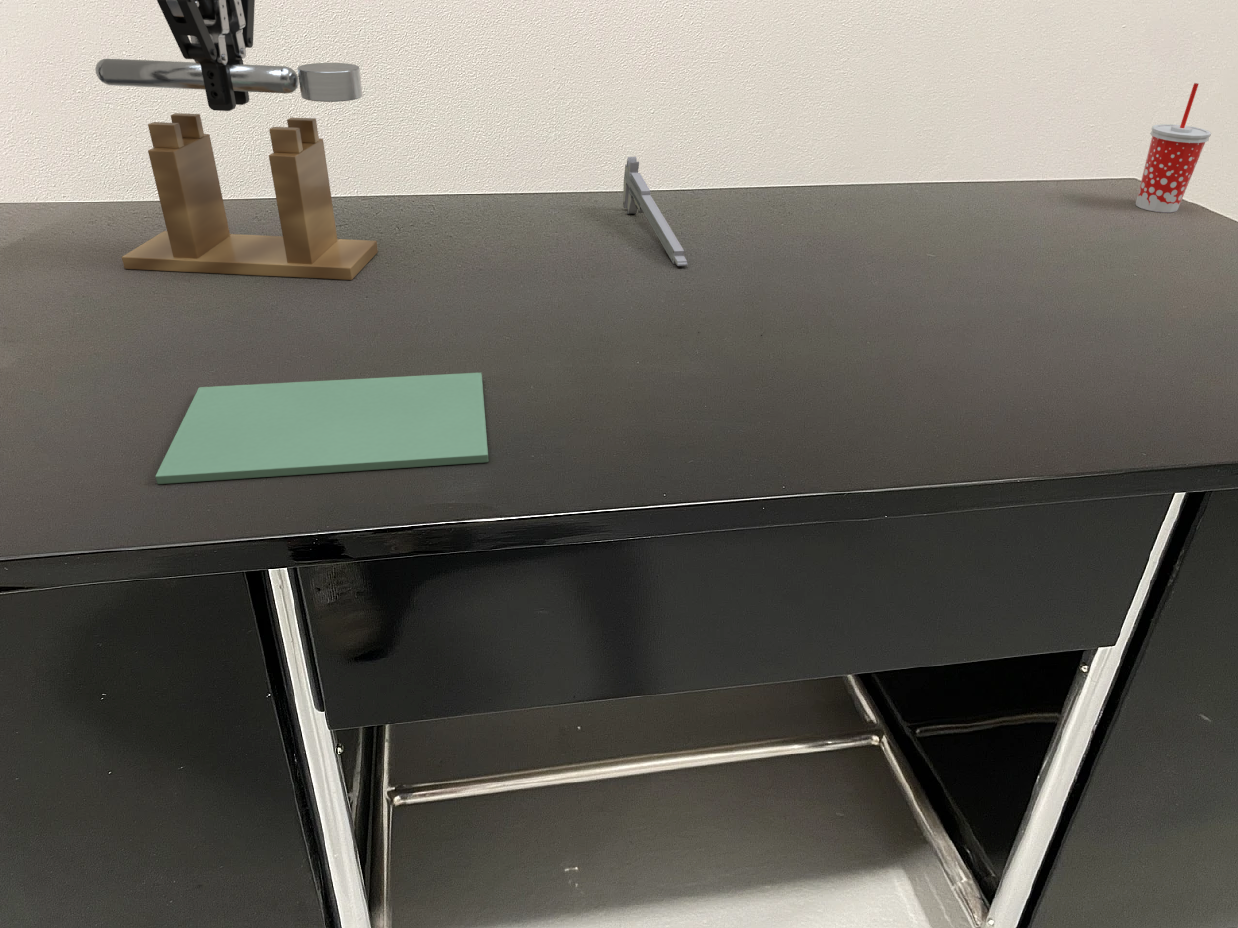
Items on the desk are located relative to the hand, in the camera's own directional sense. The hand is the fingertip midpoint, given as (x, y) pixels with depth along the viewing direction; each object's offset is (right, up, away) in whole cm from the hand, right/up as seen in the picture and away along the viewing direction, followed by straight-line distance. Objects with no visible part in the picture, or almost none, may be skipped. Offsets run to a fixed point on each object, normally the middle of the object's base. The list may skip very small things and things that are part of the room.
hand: (229, 106), depth 83 cm
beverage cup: (+100, -1, +29) cm, 104 cm away
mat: (+16, -29, -20) cm, 39 cm away
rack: (-1, -12, +7) cm, 14 cm away
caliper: (+38, -8, +16) cm, 42 cm away
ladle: (0, +1, -1) cm, 1 cm away
